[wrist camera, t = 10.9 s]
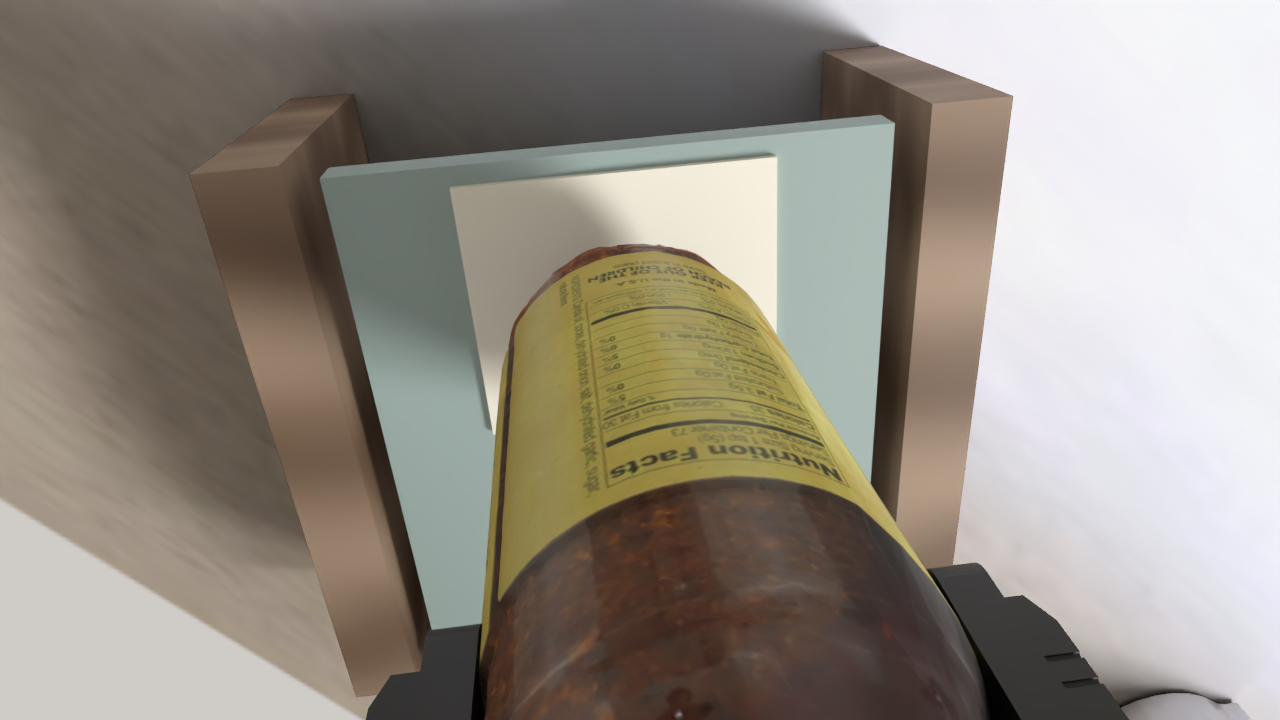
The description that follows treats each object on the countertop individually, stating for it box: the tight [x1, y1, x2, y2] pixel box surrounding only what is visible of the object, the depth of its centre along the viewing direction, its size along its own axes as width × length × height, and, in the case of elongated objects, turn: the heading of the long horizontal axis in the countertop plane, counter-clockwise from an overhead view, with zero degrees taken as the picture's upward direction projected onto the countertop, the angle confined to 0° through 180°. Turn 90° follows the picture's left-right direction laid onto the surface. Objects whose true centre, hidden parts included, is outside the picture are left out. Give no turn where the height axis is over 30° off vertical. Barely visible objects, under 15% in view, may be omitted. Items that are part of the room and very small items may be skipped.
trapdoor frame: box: [189, 46, 1013, 697], centre depth 29 cm, size 20×19×9 cm
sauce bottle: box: [479, 244, 991, 720], centre depth 12 cm, size 7×6×20 cm
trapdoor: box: [320, 115, 895, 630], centre depth 25 cm, size 17×14×1 cm
